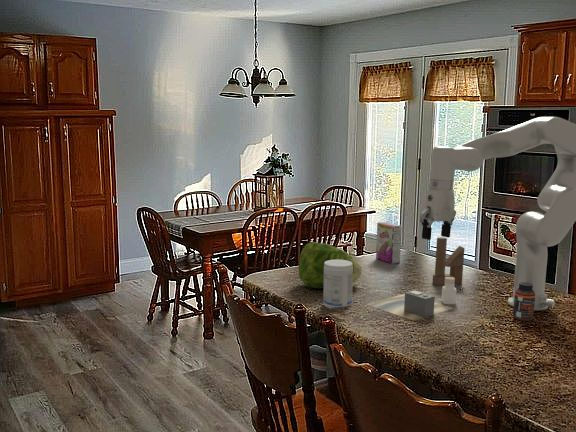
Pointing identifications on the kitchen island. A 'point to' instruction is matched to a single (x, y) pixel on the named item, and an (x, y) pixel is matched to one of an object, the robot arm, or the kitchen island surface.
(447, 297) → the pepper shaker
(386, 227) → the candy bar box
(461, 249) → the wooden letter
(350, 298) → the supplement tub
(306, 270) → the lettuce
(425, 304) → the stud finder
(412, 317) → the plywood panel
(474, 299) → the kitchen island surface
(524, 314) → the supplement bottle
